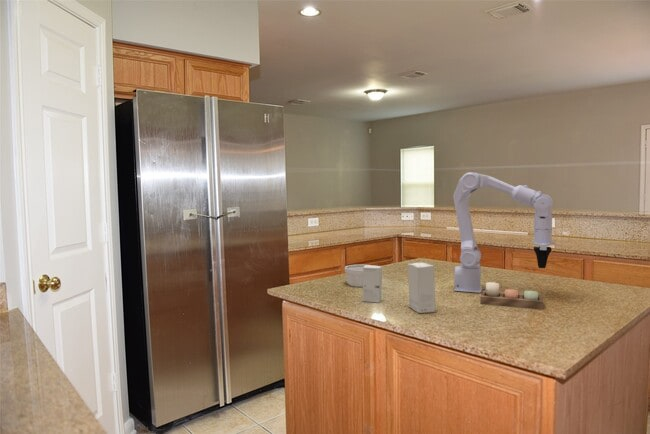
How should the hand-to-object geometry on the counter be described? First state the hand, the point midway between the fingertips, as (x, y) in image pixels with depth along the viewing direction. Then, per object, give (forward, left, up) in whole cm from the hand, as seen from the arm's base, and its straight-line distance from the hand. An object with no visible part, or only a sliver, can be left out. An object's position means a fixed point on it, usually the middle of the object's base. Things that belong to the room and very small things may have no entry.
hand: (541, 267), depth 160 cm
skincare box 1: (-54, -25, -11) cm, 60 cm away
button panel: (-10, -12, -10) cm, 19 cm away
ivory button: (-16, -12, -8) cm, 21 cm away
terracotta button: (-9, -12, -10) cm, 18 cm away
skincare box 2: (-36, -30, -11) cm, 48 cm away
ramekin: (-66, -2, -11) cm, 67 cm away
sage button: (-4, -12, -10) cm, 16 cm away
